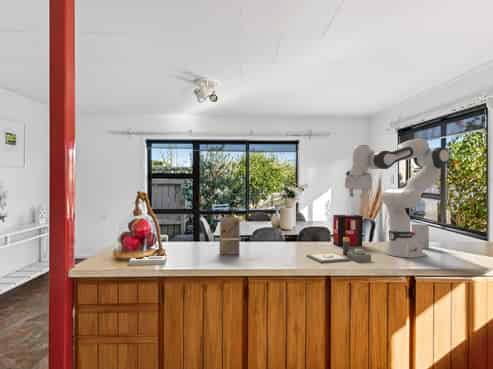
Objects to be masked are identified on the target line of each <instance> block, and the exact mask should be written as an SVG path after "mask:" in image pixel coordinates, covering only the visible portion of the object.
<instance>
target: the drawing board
mask: <svg viewBox="0 0 493 369" xmlns="http://www.w3.org/2000/svg"><path fill="white" fill-rule="evenodd" d="M306 257H307V258H309V259H311V260H313V261H315V262H318V263H320V264H326V263H327V264H328V263H339V262H341V263H342V262H351V260H350V259H349V258H347V256H344V255H341V254H338V253H335V252H328V253H316V254H315V253H314V254H306Z"/></svg>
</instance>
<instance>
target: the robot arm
mask: <svg viewBox="0 0 493 369" xmlns="http://www.w3.org/2000/svg"><path fill="white" fill-rule="evenodd" d="M450 157H451V154H450V151H449V149H448V148H446V147H441V146H439V147H438V146H437V147H430V144H429V142H428V141H427V140H426V139H424V138H414V139H410V140H409V139H408V140H406V141H404V142H403V141H402V142H401V143H399V144H398V145H397V147H396V150H393V151H389V150H382V151H374V150H373V149H371V148H370V146H369V145H368V144H360V145H355V147H354V149H353V153H352V159H351V160H352V165H351V169H349V170H348V171H346V172H345V181H344V187H345V189H348V192H349V198H350V197H352V198H354V197H355V194H354V190H361V194H359V198H362V199H364V198H365V195H366V193H367V190H368V191H369V190H370V191H371V190H372V187H373V181H372V180H373V179H372V178H373V177H372V175H371V173H370V172H369V171H368V169H369V170H388V169H390V168H391V167H393V165H394V164H396V163H398V162H401V161H407V160H413V162H414V164H415V165H416V166H417V167H420V168H421V169H420V170H419V171H417V172H416V173H415V174H413V175H412V176H411V177H410V178H407V180H406V185H405V186H404V187H401V188H400V187H399V188H397V187H396V188H395V187H391V188H387V189H385V190H383V192H382V193H381V201H382V202H383V204H384V205H385V206H386V209H387V212H388V215H389V216H388V217H389V230H388V239H389V240H388V246H387V251H386V255H389V256H393V257H399V258H409V259H413V258H419V257H425V256H427V255H428V254H427V253H426V252H424V251H423V248H422V246H421V244H420V243H419V242H417V241H416V240H415V239H414V238H413V236H412V235H416V232H412V230H411V217H410V216H409V214H408V213H407V211H406V209H410V208H411V209H412V208H416V207H418V206H419V205H420V203H421V201H422V197H421V196H422V194H423V193H424V192H426V191H427V190H428V189H429V188H431V187H432V186H433V185H435V183H436V182H437V181H438V180H439V179H440V177H441V171H440V169H443V168H445V165H446V164H448V162H449V161H450Z"/></svg>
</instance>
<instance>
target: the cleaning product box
mask: <svg viewBox="0 0 493 369" xmlns="http://www.w3.org/2000/svg"><path fill="white" fill-rule="evenodd" d="M332 217H333V218H332V220H333V221H332V222H333V224H332V225H333V227H332V228H333V229H332V233H333V234H332V236H333V237H332V240H333V242H332V244H333V246H336V247H338V248H343V238H344V237H347V238H350V242H349V248H350V247H363V215H360V214H333V216H332Z"/></svg>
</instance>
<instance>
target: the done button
mask: <svg viewBox="0 0 493 369" xmlns="http://www.w3.org/2000/svg"><path fill="white" fill-rule="evenodd" d="M353 252H354V254H356V255H362V254H363V252H364V249H362V248H354V251H353Z"/></svg>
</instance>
